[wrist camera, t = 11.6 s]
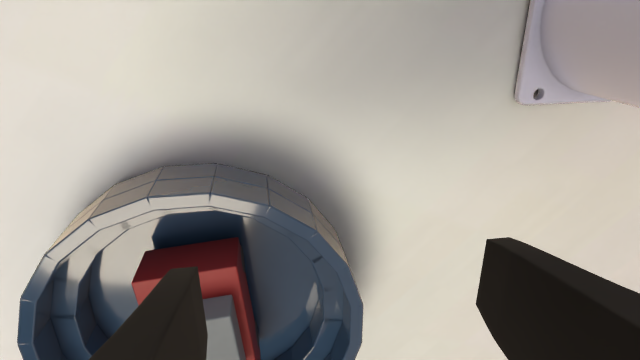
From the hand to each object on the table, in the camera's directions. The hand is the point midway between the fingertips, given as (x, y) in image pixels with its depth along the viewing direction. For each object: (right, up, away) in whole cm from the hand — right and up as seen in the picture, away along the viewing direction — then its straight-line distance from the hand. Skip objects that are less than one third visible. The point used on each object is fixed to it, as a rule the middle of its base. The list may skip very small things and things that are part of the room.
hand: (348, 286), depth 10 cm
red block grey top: (-6, -3, +11) cm, 13 cm away
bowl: (-6, -3, +11) cm, 13 cm away
